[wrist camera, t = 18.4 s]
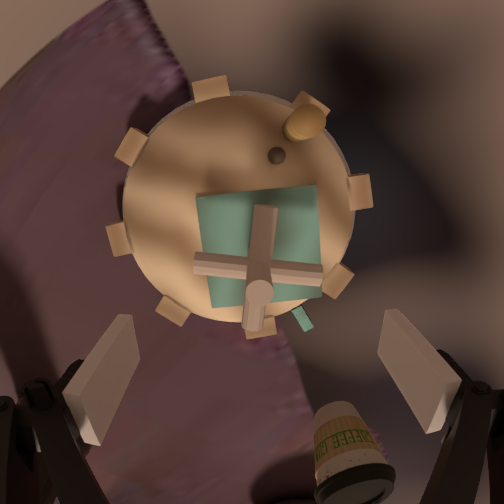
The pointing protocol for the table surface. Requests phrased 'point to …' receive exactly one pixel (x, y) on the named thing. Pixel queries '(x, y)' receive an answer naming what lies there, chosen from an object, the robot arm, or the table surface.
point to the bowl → (298, 501)
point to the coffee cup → (348, 459)
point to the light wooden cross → (258, 268)
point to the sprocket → (235, 200)
